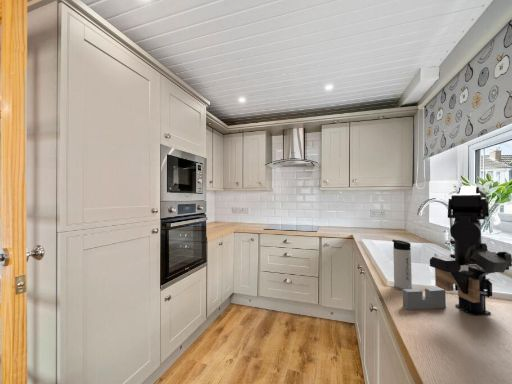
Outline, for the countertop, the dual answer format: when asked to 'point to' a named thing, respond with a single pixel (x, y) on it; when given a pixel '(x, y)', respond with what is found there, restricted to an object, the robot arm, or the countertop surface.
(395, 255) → the travel mug
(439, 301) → the base plate
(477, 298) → the cross plate
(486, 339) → the countertop surface
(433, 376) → the countertop surface
